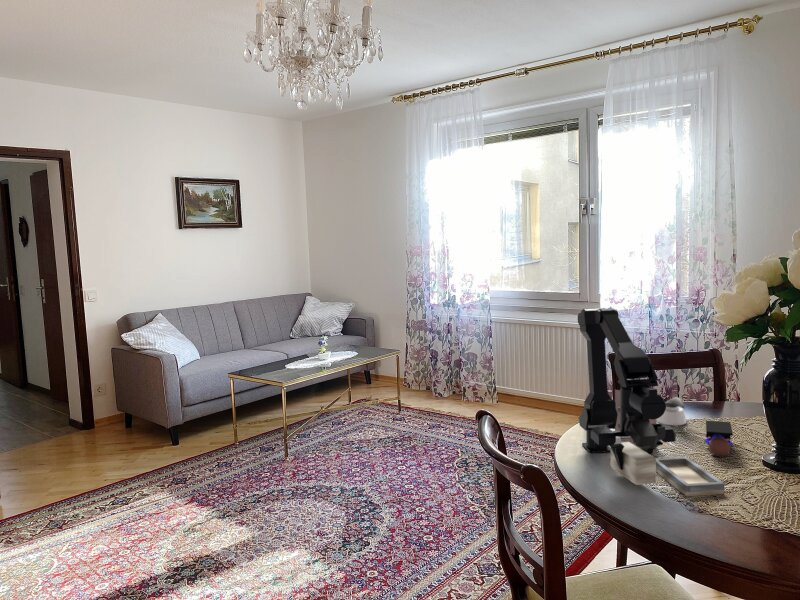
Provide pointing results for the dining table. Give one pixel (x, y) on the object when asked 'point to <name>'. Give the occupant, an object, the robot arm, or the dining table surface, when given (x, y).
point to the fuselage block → (636, 465)
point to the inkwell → (673, 413)
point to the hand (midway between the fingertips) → (632, 468)
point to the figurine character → (719, 437)
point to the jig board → (688, 477)
